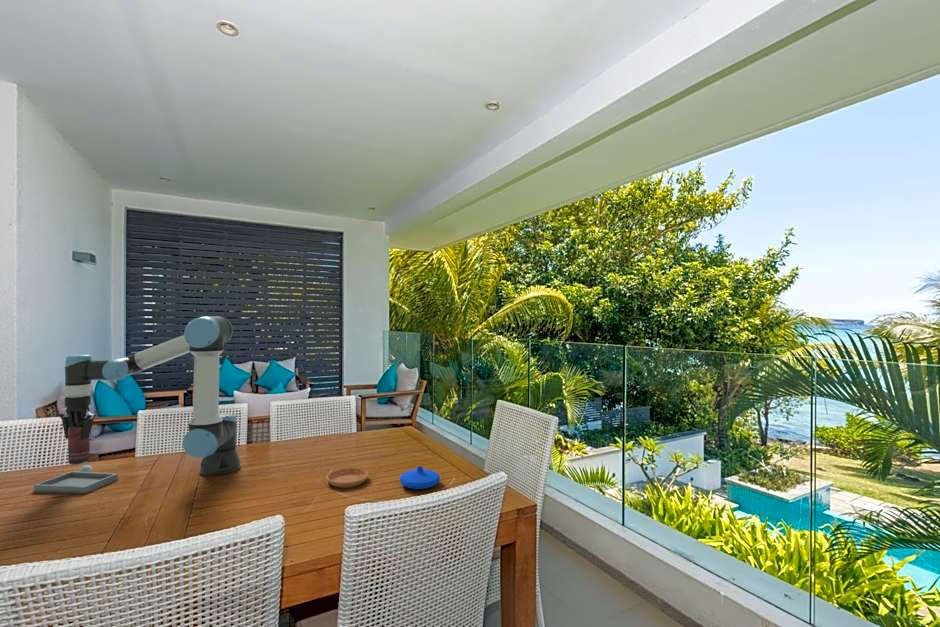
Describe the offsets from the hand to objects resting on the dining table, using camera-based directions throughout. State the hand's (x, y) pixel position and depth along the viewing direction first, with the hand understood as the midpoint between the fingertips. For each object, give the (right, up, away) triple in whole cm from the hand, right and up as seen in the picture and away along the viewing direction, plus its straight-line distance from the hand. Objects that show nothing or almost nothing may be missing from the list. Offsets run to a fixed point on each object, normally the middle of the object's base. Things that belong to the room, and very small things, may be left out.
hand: (77, 457), depth 169 cm
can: (0, -2, +1) cm, 2 cm away
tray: (0, -11, 0) cm, 11 cm away
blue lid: (+130, -12, +4) cm, 131 cm away
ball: (-7, -11, +12) cm, 17 cm away
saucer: (+101, -12, +7) cm, 102 cm away
